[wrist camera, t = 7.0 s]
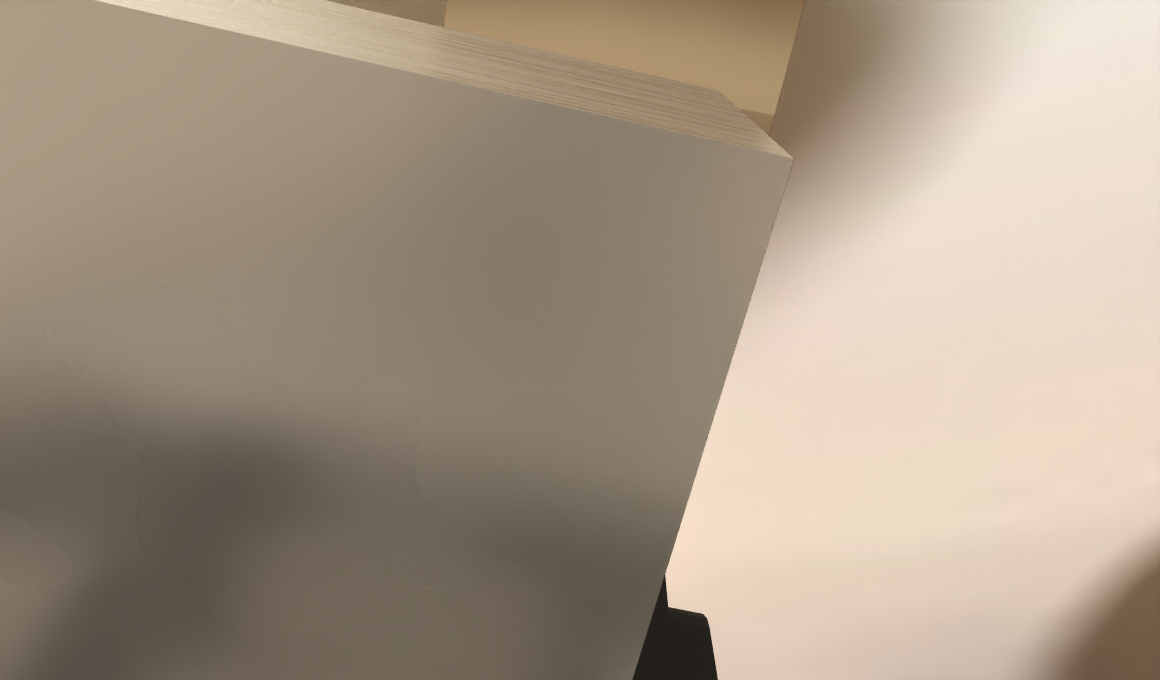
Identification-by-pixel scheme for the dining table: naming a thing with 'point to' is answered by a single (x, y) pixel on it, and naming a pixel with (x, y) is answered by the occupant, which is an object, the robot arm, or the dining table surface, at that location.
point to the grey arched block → (351, 342)
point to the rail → (656, 39)
